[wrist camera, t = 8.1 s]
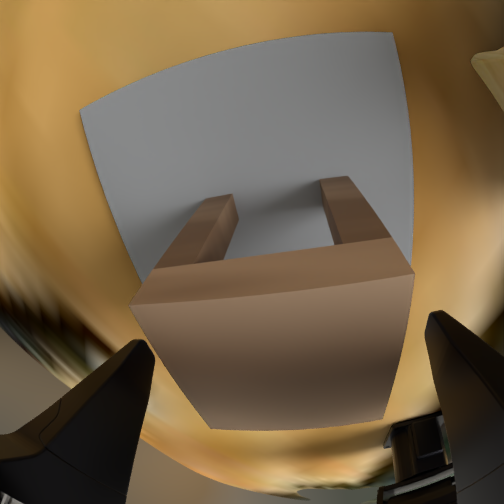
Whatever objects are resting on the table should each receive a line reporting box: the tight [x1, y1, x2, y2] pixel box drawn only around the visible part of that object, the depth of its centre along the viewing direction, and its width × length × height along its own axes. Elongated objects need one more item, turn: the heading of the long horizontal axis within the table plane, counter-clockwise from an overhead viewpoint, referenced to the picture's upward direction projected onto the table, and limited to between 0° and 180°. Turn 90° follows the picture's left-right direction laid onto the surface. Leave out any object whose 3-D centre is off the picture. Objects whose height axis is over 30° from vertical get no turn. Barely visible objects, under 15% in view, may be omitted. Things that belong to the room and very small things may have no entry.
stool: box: [128, 176, 415, 431], centre depth 10 cm, size 6×6×7 cm
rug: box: [80, 32, 414, 284], centre depth 13 cm, size 16×14×1 cm
